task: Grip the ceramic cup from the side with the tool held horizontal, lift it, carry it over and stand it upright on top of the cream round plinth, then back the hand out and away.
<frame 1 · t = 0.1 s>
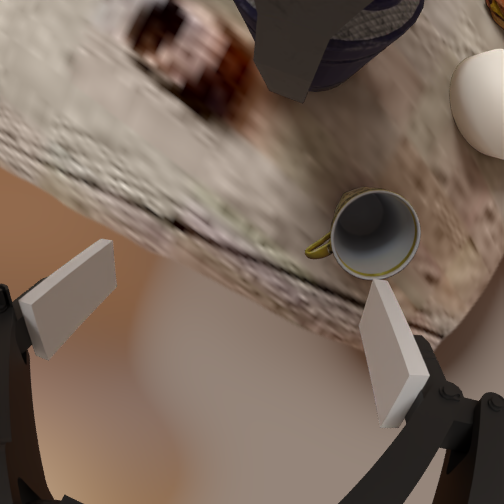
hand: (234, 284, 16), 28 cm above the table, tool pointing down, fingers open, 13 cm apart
plinth: (491, 105, 32), on the table
grenade: (307, 55, 35), on the table
ceramic cup: (349, 215, 42), on the table
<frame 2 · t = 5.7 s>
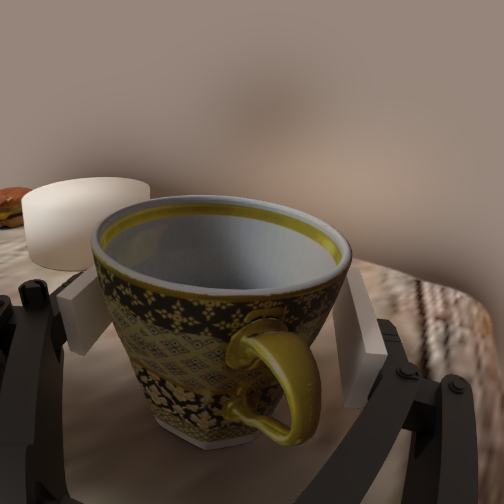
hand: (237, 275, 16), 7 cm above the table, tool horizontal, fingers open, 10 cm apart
plinth: (88, 241, 34), on the table
burger: (12, 221, 39), on the table
ceramic cup: (220, 423, 15), on the table, touching gripper
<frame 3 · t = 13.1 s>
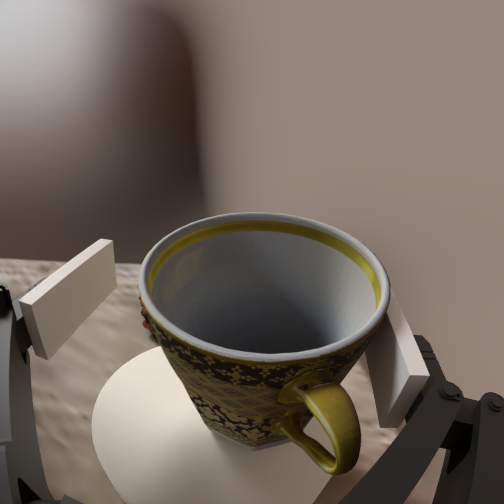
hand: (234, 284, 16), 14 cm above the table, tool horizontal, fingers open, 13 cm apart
plinth: (215, 462, 20), on the table
ceramic cup: (264, 424, 17), point 6 cm above the table, touching gripper, plinth
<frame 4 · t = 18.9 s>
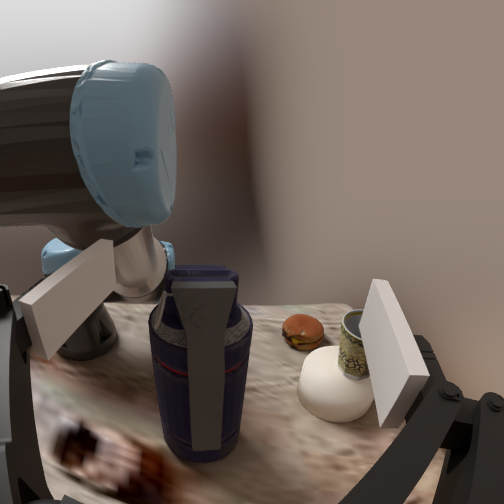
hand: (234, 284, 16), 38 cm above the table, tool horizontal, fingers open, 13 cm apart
plinth: (335, 393, 57), on the table
grenade: (201, 441, 45), on the table
burger: (301, 339, 73), on the table
ceramic cup: (357, 374, 54), point 6 cm above the table, touching plinth
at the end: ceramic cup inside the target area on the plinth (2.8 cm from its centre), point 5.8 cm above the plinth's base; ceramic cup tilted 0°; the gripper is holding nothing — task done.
